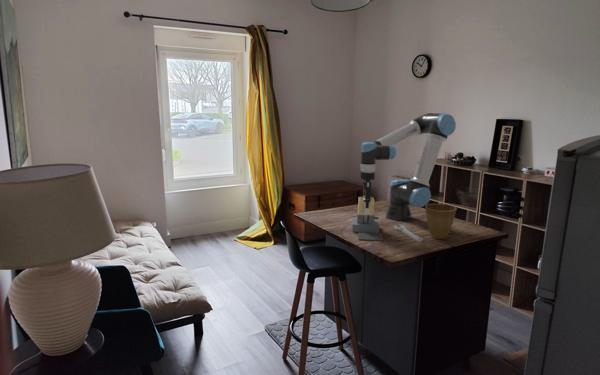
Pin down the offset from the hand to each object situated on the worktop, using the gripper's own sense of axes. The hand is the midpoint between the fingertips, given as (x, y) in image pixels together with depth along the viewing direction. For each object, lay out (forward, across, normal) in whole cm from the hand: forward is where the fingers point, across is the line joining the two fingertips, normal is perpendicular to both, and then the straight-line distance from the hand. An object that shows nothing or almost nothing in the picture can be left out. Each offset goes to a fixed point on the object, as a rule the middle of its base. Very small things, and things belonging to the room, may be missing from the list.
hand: (365, 210), depth 209 cm
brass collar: (+2, 0, 0) cm, 2 cm away
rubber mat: (+10, +13, +2) cm, 17 cm away
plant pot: (+11, +8, +37) cm, 39 cm away
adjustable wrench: (+11, +5, +22) cm, 25 cm away
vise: (+10, 0, 0) cm, 10 cm away
